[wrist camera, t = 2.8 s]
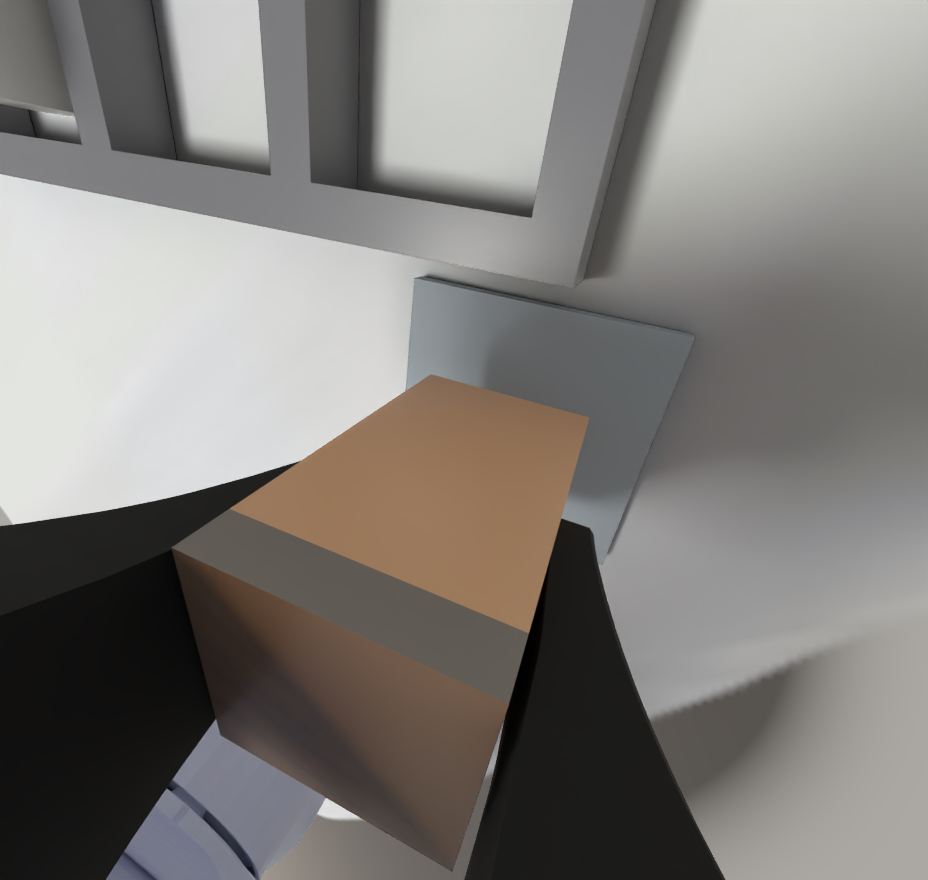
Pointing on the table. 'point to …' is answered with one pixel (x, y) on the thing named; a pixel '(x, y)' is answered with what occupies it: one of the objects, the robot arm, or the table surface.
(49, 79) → the twin plug
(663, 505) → the table surface
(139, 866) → the robot arm
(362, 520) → the plug
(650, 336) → the mat
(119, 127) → the gray slotted rack
